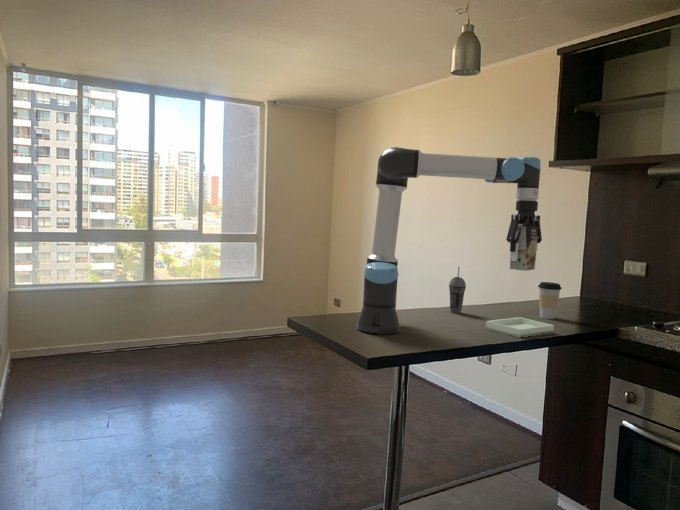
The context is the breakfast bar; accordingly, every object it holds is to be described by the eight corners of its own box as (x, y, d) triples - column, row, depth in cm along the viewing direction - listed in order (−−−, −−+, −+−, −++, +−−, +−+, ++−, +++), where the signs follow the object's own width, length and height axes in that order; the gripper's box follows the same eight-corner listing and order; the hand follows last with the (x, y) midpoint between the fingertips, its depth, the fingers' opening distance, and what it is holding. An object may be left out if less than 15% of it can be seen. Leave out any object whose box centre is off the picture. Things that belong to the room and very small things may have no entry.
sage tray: (519, 338, 180) (520, 329, 180) (485, 328, 193) (486, 321, 193) (553, 333, 192) (554, 325, 191) (519, 324, 204) (519, 317, 204)
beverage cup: (446, 313, 220) (449, 266, 219) (447, 310, 227) (450, 265, 226) (463, 314, 218) (466, 268, 217) (464, 312, 225) (467, 266, 223)
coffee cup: (554, 316, 226) (557, 282, 225) (561, 320, 217) (565, 285, 215) (532, 314, 227) (535, 281, 226) (538, 319, 218) (541, 284, 216)
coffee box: (526, 271, 185) (529, 226, 183) (509, 269, 189) (512, 225, 187) (535, 269, 192) (538, 226, 190) (518, 267, 196) (521, 225, 194)
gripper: (515, 198, 179) (511, 262, 180) (554, 201, 191) (550, 260, 193) (498, 198, 185) (494, 260, 187) (537, 201, 197) (533, 259, 199)
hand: (522, 260), depth 190 cm, fingers closed on coffee box, 10 cm apart
